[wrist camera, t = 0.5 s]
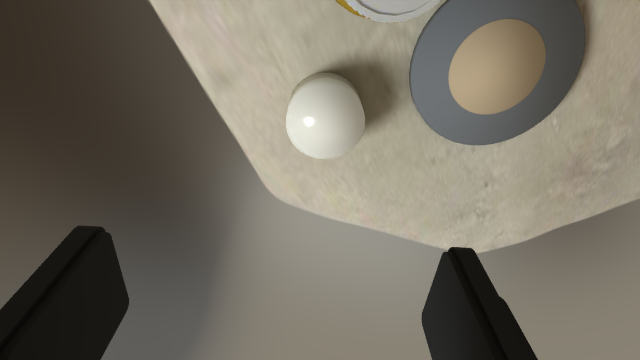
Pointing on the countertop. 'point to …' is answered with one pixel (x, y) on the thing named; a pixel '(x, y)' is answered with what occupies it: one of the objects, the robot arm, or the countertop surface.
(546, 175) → the countertop surface
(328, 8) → the countertop surface
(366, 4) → the bottle
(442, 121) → the disc
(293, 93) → the white smooth round part
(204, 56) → the countertop surface
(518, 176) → the countertop surface
